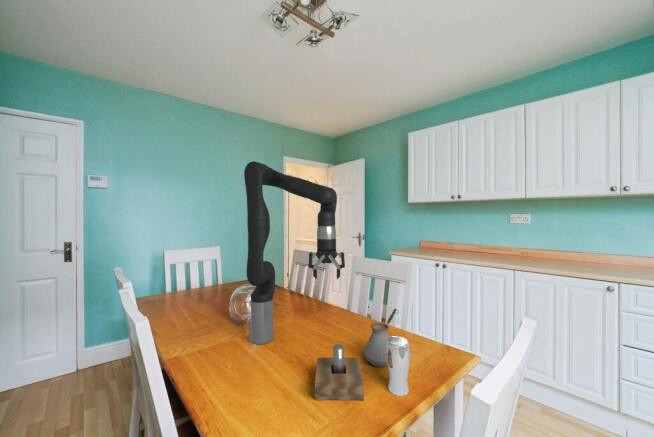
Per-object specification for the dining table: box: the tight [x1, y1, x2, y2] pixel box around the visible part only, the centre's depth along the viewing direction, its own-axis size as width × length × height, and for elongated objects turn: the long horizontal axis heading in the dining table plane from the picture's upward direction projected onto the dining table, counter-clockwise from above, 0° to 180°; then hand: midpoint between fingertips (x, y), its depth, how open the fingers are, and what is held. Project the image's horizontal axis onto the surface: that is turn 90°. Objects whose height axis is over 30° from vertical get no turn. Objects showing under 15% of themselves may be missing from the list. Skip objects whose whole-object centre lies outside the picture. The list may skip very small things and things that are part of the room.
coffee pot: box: [363, 308, 400, 368], centre depth 103 cm, size 21×12×15 cm, turn 143°
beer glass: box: [386, 335, 411, 397], centre depth 83 cm, size 7×7×15 cm
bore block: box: [314, 357, 365, 401], centre depth 86 cm, size 14×14×5 cm
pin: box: [332, 344, 345, 374], centre depth 86 cm, size 3×3×11 cm
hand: (326, 278), depth 108 cm, fingers open, 8 cm apart
